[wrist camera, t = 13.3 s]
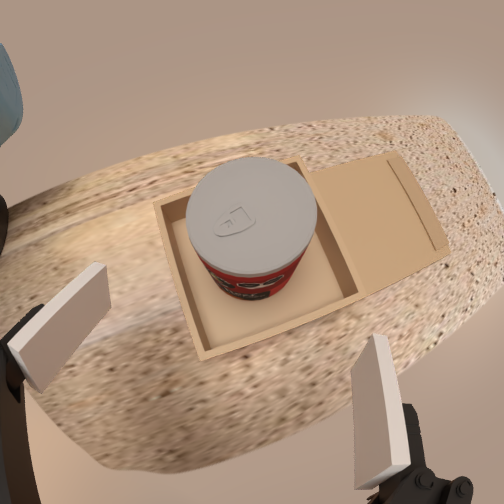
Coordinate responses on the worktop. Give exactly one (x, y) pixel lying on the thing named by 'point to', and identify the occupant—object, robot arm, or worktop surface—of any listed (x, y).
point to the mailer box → (313, 253)
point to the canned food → (251, 225)
